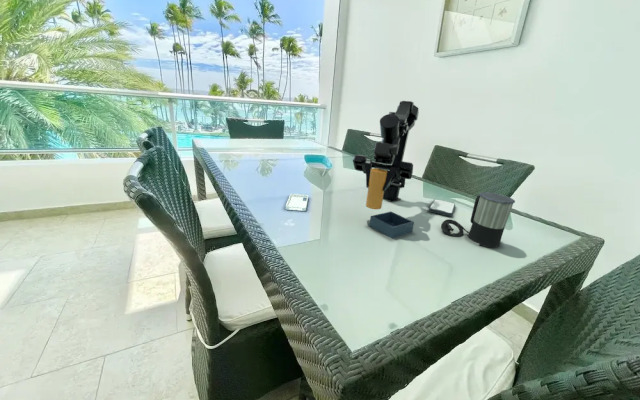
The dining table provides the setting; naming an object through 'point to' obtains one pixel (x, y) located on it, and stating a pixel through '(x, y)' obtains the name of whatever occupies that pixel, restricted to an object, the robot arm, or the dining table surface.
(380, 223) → the basket
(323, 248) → the dining table surface
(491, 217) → the milk frother
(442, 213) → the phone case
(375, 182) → the tube
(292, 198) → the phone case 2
